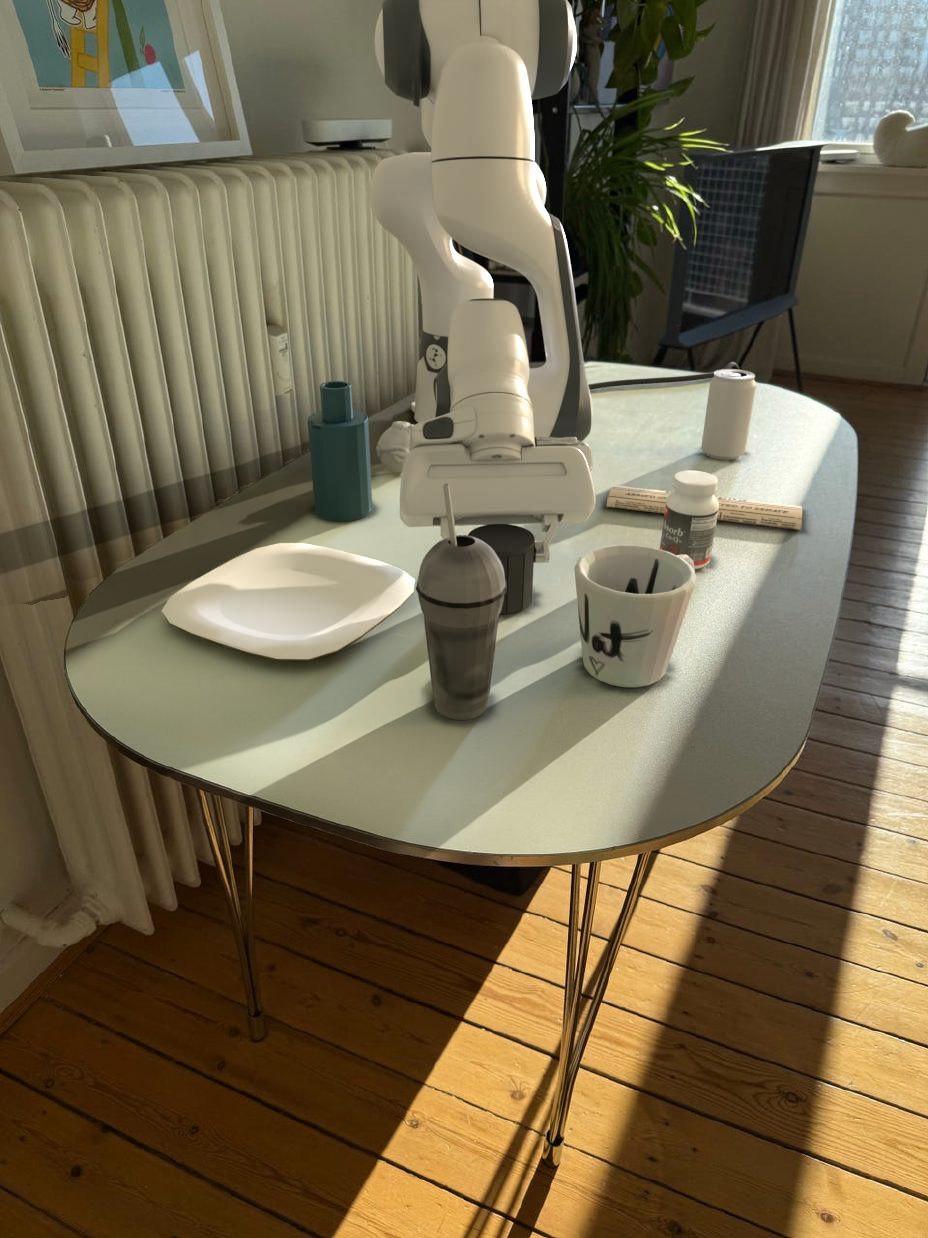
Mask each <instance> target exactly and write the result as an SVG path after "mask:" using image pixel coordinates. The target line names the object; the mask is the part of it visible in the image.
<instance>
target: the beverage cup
mask: <svg viewBox="0 0 928 1238" xmlns="http://www.w3.org/2000/svg"><path fill="white" fill-rule="evenodd" d="M443 490H444V498H445V505H446V513H447V521H448V529H449V537H448V538H445V539H443V538H442V539H441V540H440V541H438V542H436V543H435V544H434V545H433V546H432V547H431V548H430V549H429V550H428V552H426V554H425V555H424V556H423V558H422V562H421V564H420V567H419V571H418V576H417V580H416V585H415V590H416V593H417V595H418V601H419V605H420V610H421V612H422V614H423V622H424V630H425V639H426V648H427V656H428V666H429V673H430V683H431V690H432V694H433V700H434V707H435V709H436V712H438V713H439V714H440V715H441V716H443V717H445V718H447V719H451V720H456V721H467V720H472V719H475V718H477V717H480V716H481V715H483V714H484V713H485V711H486V710H487V709H488V701H489V695H490V691H491V686H492V685H491V684H492V676H493V669H494V668H493V667H494V658H495V653H496V652H495V651H496V643H497V634H498V627H499V617H500V615H501V614H500V612H501V609H502V605H503V601H504V594H505V592H506V591H507V584H506V580H505V576H504V570H503V566H502V563H501V561H500V559H499V558H498V556H497V554H496V553H495V552H494V550H493V549H492V548H491V547H490V546H489V545H488V544H486V543H485V542H483V541H482V540H480V539H478V538H475V537H472V536H468V534H467V535H465V534H458V535H457V533H456V526H455V524H454V517H453V509H452V501H451V493H450V486H449V484H447V483H446V484H443Z"/></svg>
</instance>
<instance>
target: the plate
mask: <svg viewBox="0 0 928 1238" xmlns="http://www.w3.org/2000/svg"><path fill="white" fill-rule="evenodd" d="M415 584H416V578H414V577H412V576H411V575H410V574H409V573H407V572H406V571H405V570H404V569H403V568H400V567H398V566H394V565H392V564H389V563H387V562H384V561H381V560H377V559H375V558H374V559H373V558H371V557H366V556H363V555H360V554H356V553H351V552H347V551H344V550H340V549H336V548H331V547H327V546H321V545H318V544H317V545H316V544H310V543H304V542H289V543H288V542H278V543H274V544H270V545H265V546H262V547H258V548H254V549H252V550H250V551H248V552H246V553H243V554H240V555H237V556H236V557H234V558H232V559H230V560H228V561H227V562H225V563H223V564H221V565H219V566H217V567H215V568H214V569H212V570H210V571H209V572H207V573H205V574H203V575H202V576H200V577H198V578H196V579H195V580H193V581H190V582H189V583H188V584H186V585H185V586H184V587H182V588H181V589H180V590H178V591H176V592H175V593H174V594H172V595H171V596H170V597H169V598H168V599H167V601H166V602H165V604H164V606H163V608H162V609H161V614H162V615H163V616H164V618H165V619H166V621H167V623H169V625H171V626H172V627H175V628H177V629H179V630H181V631H183V632H185V633H187V634H189V635H191V636H193V637H197V638H200V639H202V640H205V641H208V642H211V643H212V644H213V643H214V644H216V645H219V646H221V647H222V646H223V647H225V648H228V649H232V650H234V651H237V652H241V653H244V654H247V655H251V656H256V657H260V658H264V659H269V660H274V661H278V662H310V661H314V660H316V659H320V658H323V657H327V656H330V655H334V654H336V653H338V652H340V651H342V650H344V649H345V648H347V647H348V646H350V645H352V644H353V643H355V642H357V641H358V640H360V639H362V638H363V637H364V636H366V635H367V634H368V633H370V632H371V631H372V630H373V629H375V628H376V627H377V626H379V625H380V624H381V623H383V622H384V621H385V620H386V619H387V618H389V617H391V616H392V614H394V613H395V612H396V611H397V610H399V609H400V608H401V607H402V606H403V605H404V604H405V603H406V602H407V601H408V600H409V599H410V597H412V596H413V594H414V591H415Z"/></svg>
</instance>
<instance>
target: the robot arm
mask: <svg viewBox="0 0 928 1238" xmlns="http://www.w3.org/2000/svg"><path fill="white" fill-rule="evenodd" d="M381 6H382V7H381V10H380V12H379V15H378V18H377V21H376V25H375V30H374V31H375V32H374V53H375V58H376V62H377V65H378V68H379V71H380V74H381V75H382V77H383V79H384V85H385V86H386V87H387V88H388V89H389V90H390V91H391V92H392V93H393V94H394V95H395V96H397V97H400V98H402V99H405V100H408V101H411V102H412V104H413V106H415V107H418V108H420V107H421V109H420V110H421V111H420V116H421V117H420V118H421V120H420V124H421V131H422V134H423V136H424V138H425V140H426V142H427V144H428V145H429V147H430V151H429V152H428V151H424V152H423V151H413V152H407V153H402V154H398V155H393V156H389V157H386V158H382V160H380V162H379V163H378V164H377V166H376V167H375V169H374V171H373V173H372V176H371V178H370V181H369V188H368V197H369V204H370V207H371V210H372V213H373V215H374V217H375V219H376V220H377V222H378V223H379V225H380V226H381V227H382V228H384V230H385V231H387V232H388V233H389V234H391V235H392V236H393V237H394V238H395V239H397V241H398V242H399V243H400V244H401V245H402V247H403V248H404V249H405V251H406V252H407V254H408V255H409V258H410V259H411V261H412V263H413V265H414V268H415V270H416V274H417V278H418V283H419V290H420V301H421V313H422V314H421V315H422V317H421V318H422V328H421V329H420V331H419V338H418V339H419V341H418V342H419V353H420V354H421V355H422V358H421V359H420V360H419V361H418V363H417V370H416V381H415V382H416V383H415V397H414V401H412V402H411V404H410V405H411V406H410V410H411V412H413V413H414V415H413V418H414V419H413V420H414V421H415V422H417V423H415V424H413V425H414V426H413V428H412V431H411V435H410V452H409V453H408V455H407V456H406V458H405V461H404V464H403V470H402V473H401V478H400V487H399V488H400V489H399V519H400V520H401V522H402V523H403V524H404V525H405V526H406V527H409V528H417V527H418V528H419V527H421V528H422V527H439V529H440V537H441V538H442V540H443V539H445V538H448V537H449V529H448V521H447V513H446V505H445V498H444V490H443V484H446V483H447V484H449V486H450V493H451V501H452V509H453V517H454V524H455V527H459V526H461V527H462V526H484V525H490V524H509V525H536V524H539V525H540V526H541V532H542V533H545V535H544V537H543V540H542V541H535V546H534V564H536V563H537V564H538V563H539V564H540V563H541V564H545V563H549V561H550V556H551V555H550V543H551V541H552V540H553V537H554V535H555V534H556V531H557V529H558V526H559V524H574V523H576V524H578V523H585V522H586V521H587V520H588V519H589V518H590V517H591V516H592V514H593V513H594V511H595V509H596V508H595V507H596V504H597V500H596V492H595V486H594V482H593V477H592V473H591V472H592V470H593V453H592V450H591V447H590V445H588V444H587V443H586V442H584V441H585V439H586V438H587V437H588V436H589V435H590V434H591V429H592V425H593V419H594V406H593V400H592V395H591V391H593V390H598V389H605V388H613V387H623V386H636V385H652V384H653V385H654V384H666V383H667V384H669V383H682V382H692V381H701V380H707V379H712V378H713V377H714V372H715V371H712V372H711V371H710V372H706V373H697V374H689V375H677V376H663V377H660V376H659V377H647V378H646V377H645V378H631V379H619V380H617V379H616V380H610V381H609V380H608V381H602V382H595V383H588V378H587V373H586V366H585V362H584V361H585V360H584V354H583V347H582V340H581V338H582V337H581V331H580V323H579V322H580V321H579V316H578V314H579V313H578V307H577V299H576V291H575V285H574V277H573V271H572V264H571V258H570V252H569V247H568V241H567V238H566V234H565V231H564V228H563V225H562V223H561V221H560V219H559V218H558V217H556V216H554V215H553V214H551V213H550V212H548V211H547V209H546V208H545V204H546V201H547V199H546V198H547V186H546V181H545V177H544V174H543V172H542V170H541V168H540V166H539V164H538V163H537V162H536V161H535V129H534V115H533V114H534V113H533V104H532V103H533V102H532V101H533V100H534V101H535V100H540V99H544V98H547V97H551V96H554V95H557V94H558V93H559V92H560V91H561V89H563V87H564V86H565V85H566V84H567V82H568V80H569V76H570V72H571V70H572V67H573V65H574V62H575V58H576V54H577V42H578V41H577V38H578V34H577V27H576V23H575V19H574V13H573V9H572V5H571V4H570V2H569V1H568V0H383V1H382V3H381ZM420 101H421V105H420ZM453 240H454V241H455V242H456V243H457V244H459V245H461V246H462V247H464V248H465V249H467V250H469V251H471V252H473V253H475V254H478V255H480V256H482V257H485V258H487V259H490V260H492V261H495V262H497V263H499V264H502V265H504V266H507V267H509V268H510V269H513V270H515V271H516V272H518V273H519V274H521V275H522V276H524V277H525V278H526V279H527V281H528V282H529V283H530V284H531V286H532V287H533V289H534V291H535V295H536V298H537V303H538V310H539V317H540V318H539V319H540V324H541V332H542V337H543V338H542V339H543V346H544V352H545V363H544V364H543V365H541V366H539V367H530V362H529V354H528V353H529V352H528V346H527V339H526V334H525V329H524V325H523V321H522V317H521V315H520V312H519V309H518V307H517V306H516V305H515V304H514V303H512V302H510V301H508V300H504V299H503V298H494V290H495V289H494V282H493V278H492V276H491V274H490V273H489V271H488V270H487V269H486V268H484V266H482V265H480V264H479V263H477V262H475V261H474V260H472V259H470V258H468V257H466V256H464V255H461V254H460V253H459V252H458V251H456V249H455V248H454V245H453ZM722 369H738V370H741V369H740V367H739V365H738V364H737V363H736V362H734V361H731V362H729V363H728V364H726V365H725V366H724V367H723V368H722Z"/></svg>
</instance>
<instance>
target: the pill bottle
mask: <svg viewBox="0 0 928 1238" xmlns="http://www.w3.org/2000/svg"><path fill="white" fill-rule="evenodd" d="M718 482H719V480H718V477H717V476H715V475H714V474H712V473H709V472H705V471H701V470H689V469H688V470H680V471H678V472H676V473H675V474H674V475H673V480H672V489H674V490H673V491H671V492H672V493H671V494H670V495H669V496H668V497H667V500H666V506H665V513H664V515H663V522H662V530H661V537H660V544H659V549H660V550H663V551H667V552H670V553H672V554H674V555H688V556H689V557H690V558H691V559H692V560H693V563H694V569H695V570H698V569H701V568H704V567H706V566H707V565H708V564H709V563H710V561H711V558H712V550H713V545H714V538H715V533H716V528H717V521H718V520H717V515H718V508H719V503H718V500H717V499H716V497H717V496H715V495H714V494H715V493H716V492H717V490H718V484H719V483H718Z"/></svg>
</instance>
